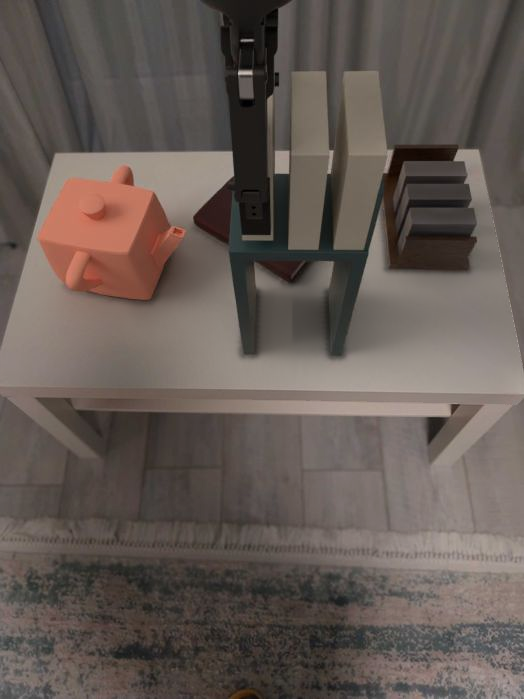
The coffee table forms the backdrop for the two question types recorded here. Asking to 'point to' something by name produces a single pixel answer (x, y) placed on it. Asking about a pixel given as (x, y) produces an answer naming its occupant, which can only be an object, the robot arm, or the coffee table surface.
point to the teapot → (108, 237)
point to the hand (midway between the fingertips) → (258, 188)
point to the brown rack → (427, 209)
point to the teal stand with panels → (321, 198)
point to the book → (217, 223)
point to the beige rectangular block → (269, 164)
